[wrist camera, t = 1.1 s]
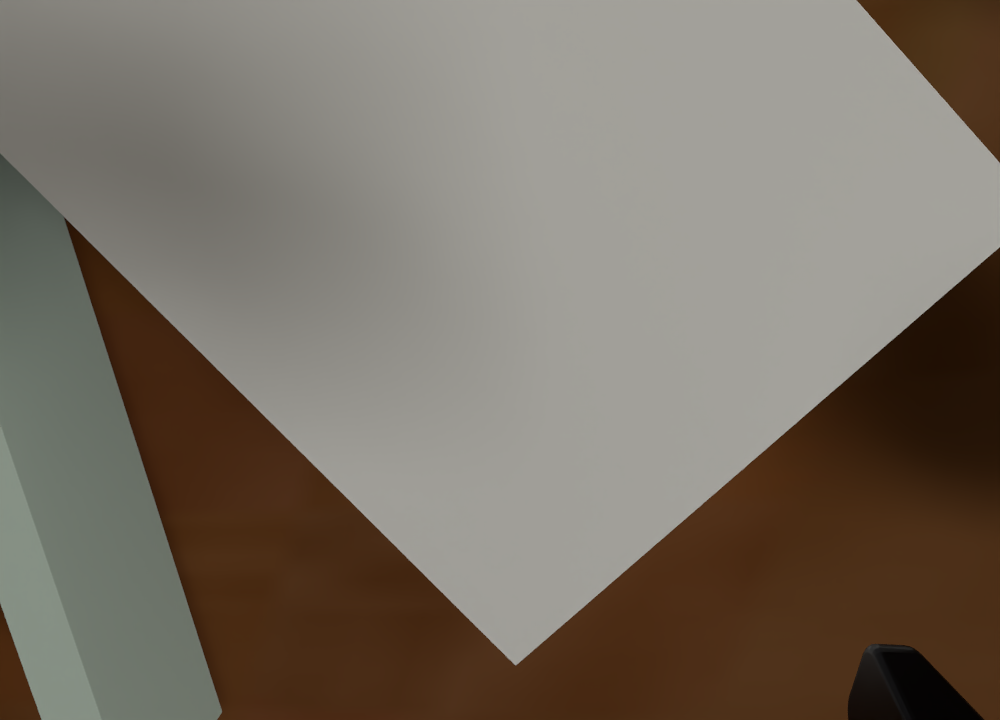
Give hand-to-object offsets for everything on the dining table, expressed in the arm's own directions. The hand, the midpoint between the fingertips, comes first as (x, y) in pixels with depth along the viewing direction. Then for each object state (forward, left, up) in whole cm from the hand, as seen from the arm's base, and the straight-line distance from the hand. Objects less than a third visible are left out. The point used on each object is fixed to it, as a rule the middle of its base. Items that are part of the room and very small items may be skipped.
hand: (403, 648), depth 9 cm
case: (+4, +4, -12) cm, 14 cm away
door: (-7, +6, -12) cm, 16 cm away
